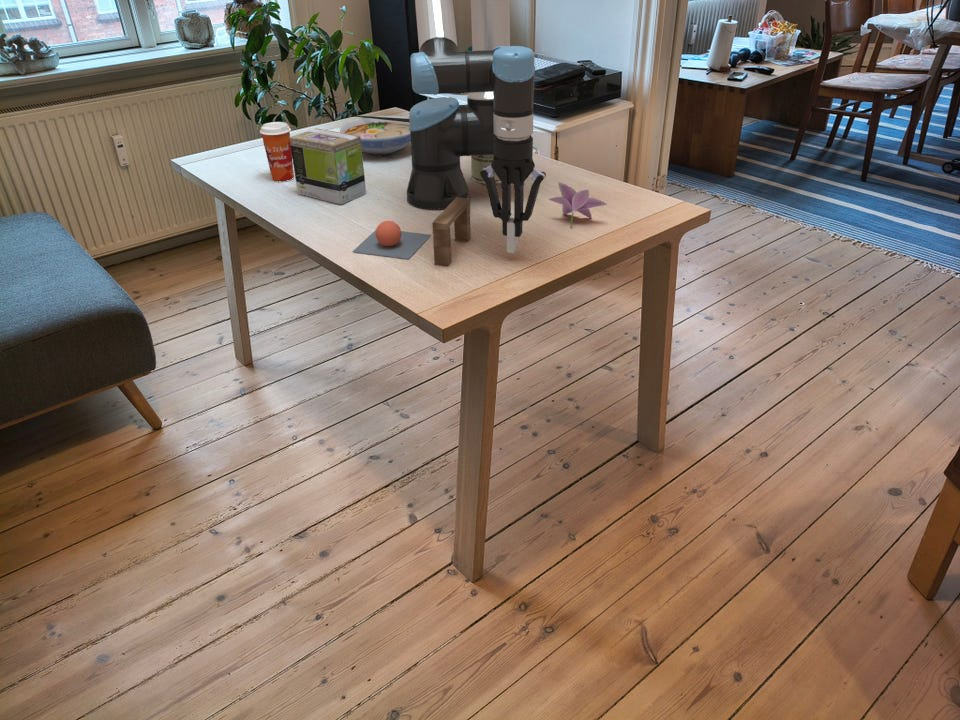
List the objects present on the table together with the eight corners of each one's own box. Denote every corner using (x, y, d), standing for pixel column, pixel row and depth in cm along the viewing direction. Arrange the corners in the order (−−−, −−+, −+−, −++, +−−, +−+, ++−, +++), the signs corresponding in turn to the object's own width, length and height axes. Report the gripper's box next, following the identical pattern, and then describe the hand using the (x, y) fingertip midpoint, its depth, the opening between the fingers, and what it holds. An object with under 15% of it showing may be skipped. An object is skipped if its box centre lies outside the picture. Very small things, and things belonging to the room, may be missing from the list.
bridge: (434, 264, 154) (432, 222, 149) (457, 237, 165) (456, 197, 160) (448, 266, 153) (446, 224, 148) (470, 238, 165) (469, 198, 160)
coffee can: (470, 171, 202) (469, 118, 194) (508, 170, 202) (509, 117, 194) (471, 184, 193) (470, 129, 185) (511, 184, 193) (512, 129, 186)
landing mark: (377, 229, 170) (377, 228, 170) (431, 235, 166) (431, 234, 166) (352, 252, 160) (352, 251, 159) (408, 259, 156) (408, 258, 156)
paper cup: (265, 183, 196) (256, 130, 189) (271, 174, 203) (262, 121, 195) (295, 183, 197) (287, 129, 189) (300, 173, 203) (292, 120, 195)
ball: (387, 212, 161) (409, 226, 162) (377, 231, 164) (398, 245, 165) (378, 220, 157) (400, 235, 157) (367, 240, 160) (389, 255, 160)
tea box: (367, 193, 189) (361, 134, 181) (340, 206, 182) (333, 145, 174) (324, 183, 196) (316, 126, 188) (296, 194, 189) (287, 136, 181)
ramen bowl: (323, 159, 213) (319, 130, 209) (364, 136, 231) (361, 109, 226) (401, 168, 205) (399, 138, 200) (437, 145, 222) (436, 117, 218)
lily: (610, 231, 169) (613, 188, 169) (577, 225, 161) (580, 180, 161) (569, 233, 178) (572, 192, 177) (536, 227, 170) (539, 184, 169)
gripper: (474, 138, 141) (476, 253, 154) (541, 143, 137) (538, 261, 150) (486, 127, 147) (487, 239, 160) (551, 132, 143) (547, 246, 156)
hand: (512, 249), depth 155 cm, fingers closed
